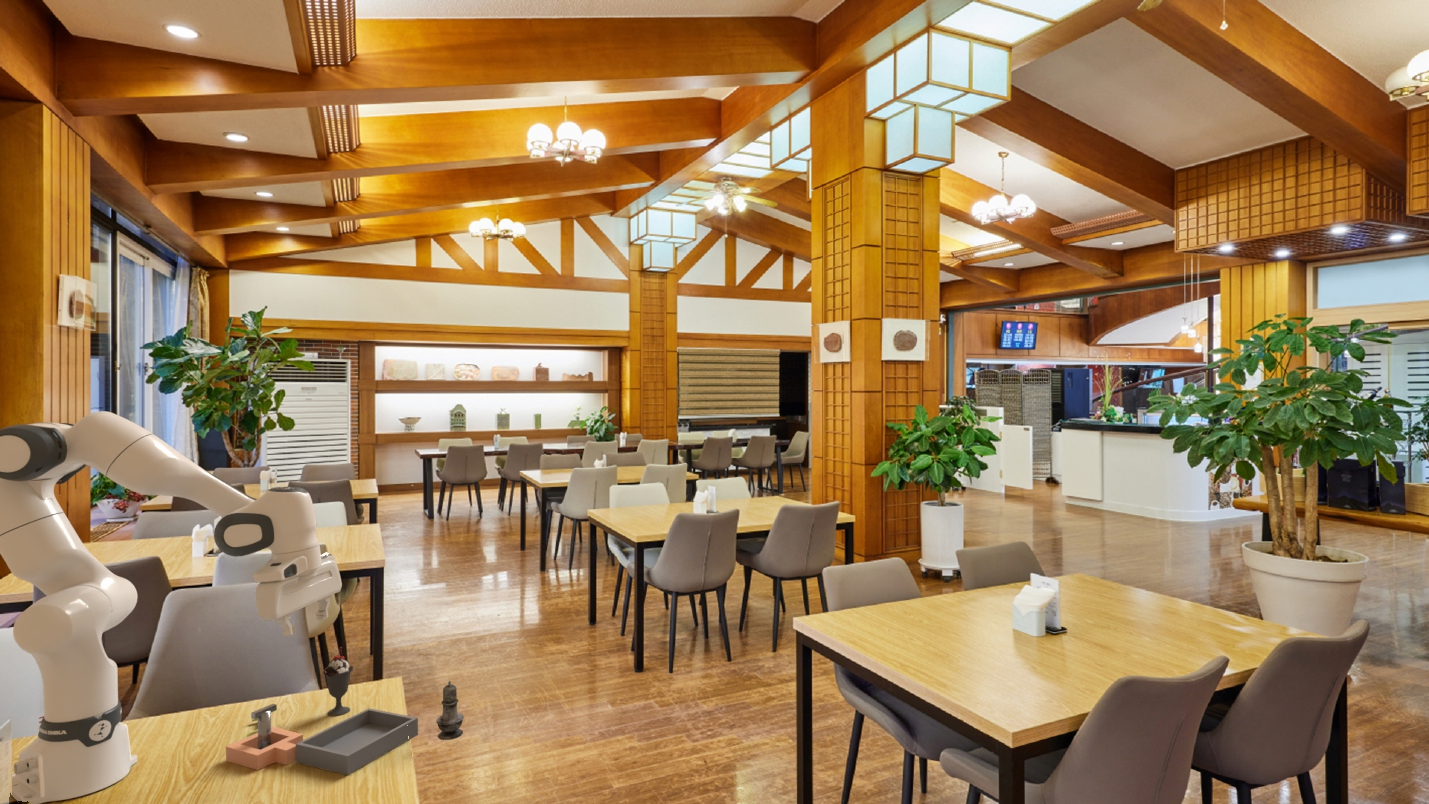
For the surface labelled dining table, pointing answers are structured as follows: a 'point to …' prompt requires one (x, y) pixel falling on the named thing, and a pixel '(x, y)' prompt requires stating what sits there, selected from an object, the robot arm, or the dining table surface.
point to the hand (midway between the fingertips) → (306, 626)
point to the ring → (264, 749)
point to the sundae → (338, 682)
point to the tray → (356, 741)
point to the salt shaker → (450, 715)
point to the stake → (264, 725)
